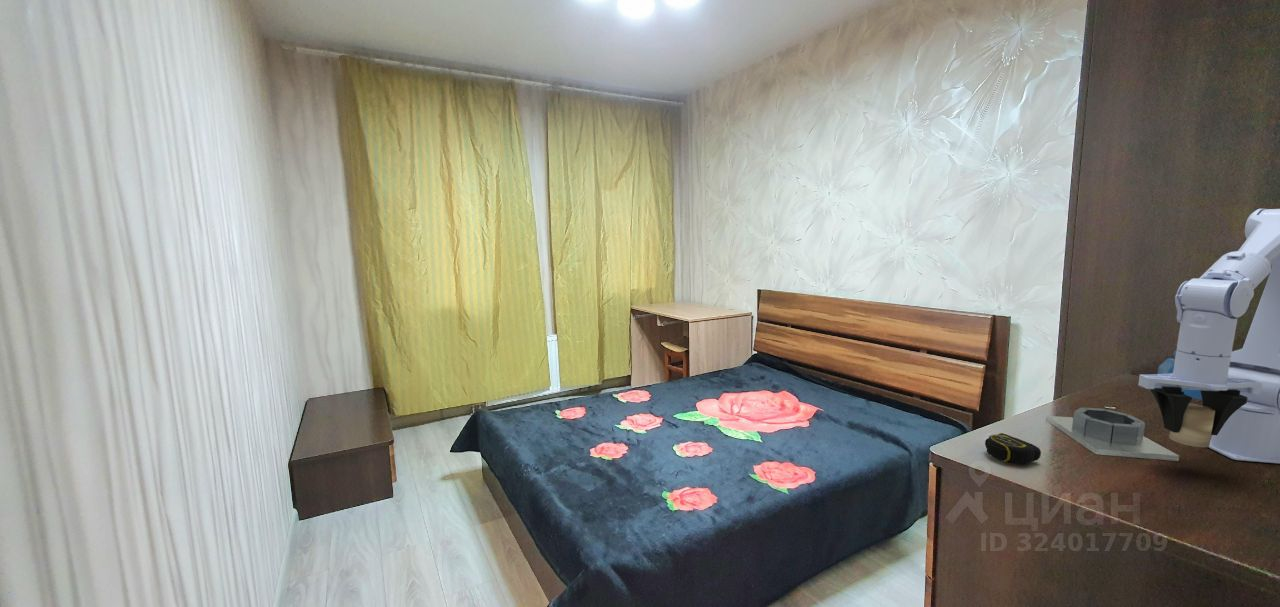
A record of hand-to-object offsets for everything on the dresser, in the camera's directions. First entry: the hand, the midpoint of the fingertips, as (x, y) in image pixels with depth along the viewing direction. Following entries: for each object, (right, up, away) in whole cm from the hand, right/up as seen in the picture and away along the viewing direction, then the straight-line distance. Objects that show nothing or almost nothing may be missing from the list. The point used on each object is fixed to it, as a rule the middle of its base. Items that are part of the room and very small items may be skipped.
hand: (1190, 431), depth 78 cm
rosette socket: (-1, -5, +14) cm, 15 cm away
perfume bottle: (+38, -1, +35) cm, 52 cm away
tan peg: (0, -2, 0) cm, 2 cm away
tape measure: (-25, -7, +7) cm, 27 cm away
